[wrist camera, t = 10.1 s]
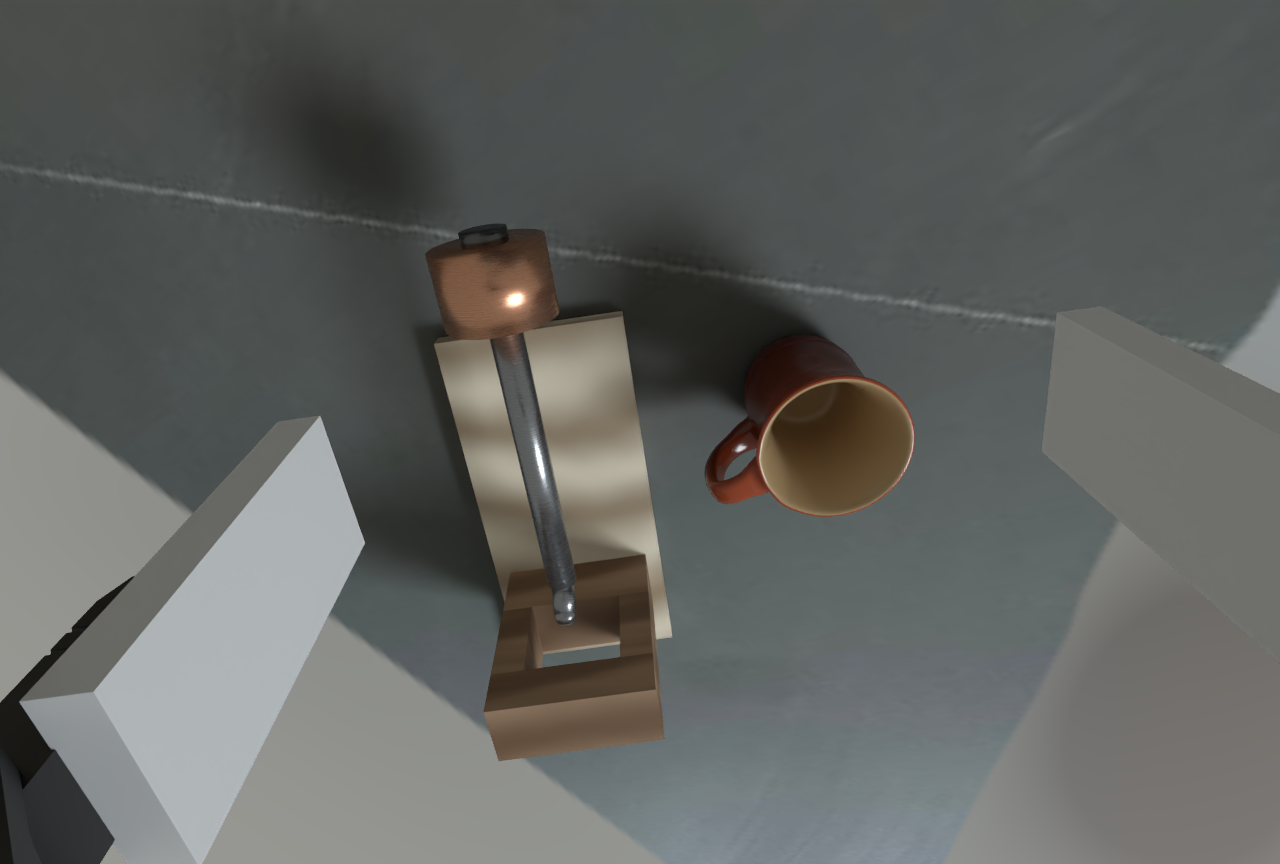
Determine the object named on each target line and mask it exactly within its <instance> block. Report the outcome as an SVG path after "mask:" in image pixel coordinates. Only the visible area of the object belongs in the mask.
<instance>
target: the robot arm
mask: <svg viewBox="0 0 1280 864" xmlns="http://www.w3.org/2000/svg"><path fill="white" fill-rule="evenodd" d="M1042 452H1043V453H1044V454H1045V455H1046V456H1048V457H1049V458H1050V459H1051V460H1052V461H1053V462H1054V463H1055V464H1057V465H1058V466H1059V467H1060V468H1061V469H1062V470H1063V471H1064V472H1066V473H1067V474H1068V475H1069V476H1070V477H1071V478H1072V479H1073V480H1075V481H1076V482H1077V483H1078V484H1079V485H1080V486H1081V487H1082V488H1083V489H1085V490H1086V491H1087V492H1088V493H1089V494H1090V495H1091V496H1092V497H1094V498H1095V499H1096V500H1097V501H1098V502H1099V503H1100V504H1101V505H1103V506H1104V507H1105V508H1106V509H1107V510H1108V511H1109V512H1110V513H1112V514H1113V515H1114V516H1115V517H1116V518H1117V519H1118V520H1119V521H1121V522H1122V523H1123V524H1124V525H1125V526H1126V527H1127V528H1129V529H1130V530H1131V531H1132V532H1133V533H1134V534H1135V535H1136V536H1138V537H1139V538H1140V539H1141V540H1142V541H1143V542H1144V543H1145V544H1146V545H1148V546H1149V547H1150V548H1151V549H1152V550H1153V551H1154V552H1155V553H1156V554H1158V555H1159V556H1160V557H1161V558H1162V559H1163V560H1164V561H1165V562H1167V563H1168V564H1169V565H1170V566H1171V567H1172V568H1174V570H1176V571H1177V572H1178V573H1179V574H1180V575H1181V576H1182V577H1183V578H1185V579H1186V580H1187V581H1188V582H1189V583H1190V584H1191V585H1192V586H1194V587H1195V588H1196V589H1197V590H1198V591H1199V592H1200V593H1202V594H1203V595H1204V596H1205V597H1206V598H1207V599H1208V600H1209V601H1210V602H1212V603H1213V604H1214V605H1215V606H1216V607H1217V608H1218V609H1219V610H1221V611H1222V612H1223V613H1224V614H1225V615H1226V616H1227V617H1228V618H1229V619H1231V620H1232V621H1233V622H1234V623H1235V624H1236V625H1237V626H1239V627H1240V628H1241V629H1242V630H1243V631H1244V632H1245V633H1246V634H1248V635H1249V636H1250V637H1251V638H1252V639H1253V640H1254V641H1255V642H1256V643H1258V644H1259V645H1260V646H1261V647H1262V648H1263V649H1264V650H1266V651H1267V652H1268V653H1269V654H1270V655H1271V656H1272V657H1273V658H1275V659H1276V660H1277V661H1278V662H1279V663H1280V394H1279V393H1277V392H1275V391H1273V390H1271V389H1269V388H1267V387H1265V386H1263V385H1261V384H1259V383H1257V382H1255V381H1253V380H1251V379H1249V378H1247V377H1245V376H1243V375H1241V374H1239V373H1237V372H1234V371H1232V370H1230V369H1228V368H1226V367H1224V366H1222V365H1220V364H1218V363H1216V362H1214V361H1212V360H1210V359H1208V358H1206V357H1204V356H1202V355H1200V354H1198V353H1196V352H1194V351H1192V350H1190V349H1187V348H1185V347H1183V346H1181V345H1179V344H1177V343H1175V342H1173V341H1171V340H1169V339H1167V338H1165V337H1163V336H1161V335H1159V334H1157V333H1155V332H1153V331H1151V330H1149V329H1147V328H1145V327H1142V326H1140V325H1138V324H1136V323H1134V322H1132V321H1130V320H1128V319H1126V318H1124V317H1122V316H1120V315H1118V314H1116V313H1114V312H1112V311H1110V310H1108V309H1106V308H1104V307H1102V306H1100V307H1093V308H1086V309H1079V310H1072V311H1065V312H1058V313H1057V319H1056V328H1055V337H1054V346H1053V355H1052V364H1051V373H1050V382H1049V391H1048V400H1047V409H1046V418H1045V427H1044V436H1043V445H1042ZM364 544H365V542H364V539H363V536H362V533H361V530H360V528H359V525H358V522H357V519H356V516H355V513H354V511H353V508H352V505H351V502H350V499H349V496H348V494H347V491H346V488H345V485H344V482H343V479H342V477H341V474H340V471H339V468H338V465H337V462H336V460H335V457H334V454H333V451H332V448H331V445H330V443H329V440H328V437H327V434H326V431H325V428H324V426H323V423H322V420H321V417H320V416H315V417H308V418H300V419H293V420H286V421H279V422H277V423H276V424H275V425H274V427H273V428H272V429H271V430H270V431H269V432H268V433H267V434H266V435H265V436H264V437H263V438H262V440H261V441H260V442H259V443H258V444H257V445H256V446H255V447H254V448H253V449H252V450H251V451H250V453H249V454H248V455H247V456H246V457H245V458H244V459H243V460H242V461H241V462H240V463H239V464H238V465H237V467H236V468H235V469H234V470H233V471H232V472H231V473H230V474H229V475H228V476H227V477H226V478H225V480H224V481H223V482H222V483H221V484H220V485H219V486H218V487H217V488H216V489H215V490H214V491H213V493H212V494H211V495H210V496H209V497H208V498H207V499H206V500H205V501H204V502H203V503H202V504H201V505H200V507H199V508H198V509H197V510H196V511H195V512H194V513H193V514H192V515H191V516H190V517H189V518H188V520H187V521H186V522H185V523H184V524H183V525H182V526H181V527H180V528H179V529H178V530H177V532H176V533H175V534H174V535H173V536H172V537H171V538H170V539H169V540H168V541H167V542H166V543H165V544H164V546H163V547H162V548H161V549H160V550H159V551H158V552H157V553H156V554H155V555H154V556H153V557H152V559H151V560H150V561H149V562H148V563H147V564H146V565H145V566H144V567H143V568H142V569H141V571H140V572H139V573H138V574H137V575H136V576H133V577H131V578H130V579H128V580H127V581H125V582H124V583H122V584H121V585H120V586H118V587H117V588H115V589H114V590H112V591H111V592H110V593H108V594H107V595H105V596H104V597H102V598H101V599H99V600H98V601H97V602H96V603H95V604H94V605H93V606H92V607H91V608H90V609H89V610H88V611H87V612H86V613H85V614H84V615H83V616H82V617H81V618H80V619H79V620H78V622H77V623H76V624H75V625H74V626H73V627H72V632H71V633H66V634H65V635H64V636H63V637H62V638H61V639H60V640H59V641H58V643H57V644H56V645H55V646H54V647H53V648H52V649H51V654H50V655H46V656H44V657H43V658H42V659H41V660H40V661H39V663H38V664H37V665H36V666H35V667H34V668H33V669H32V670H31V671H30V672H29V673H28V674H27V675H26V676H25V677H24V678H23V679H22V680H21V681H20V683H18V685H17V686H16V687H15V688H14V689H13V690H12V691H11V692H10V693H9V694H8V695H7V696H6V697H5V698H4V699H3V700H2V701H1V703H0V864H100V862H101V861H102V859H103V858H104V856H105V855H106V853H107V851H108V850H109V848H110V847H111V845H112V844H113V843H114V845H115V846H116V848H117V849H118V851H119V852H120V854H121V855H122V857H123V858H124V860H125V861H126V862H127V864H202V863H203V861H204V859H205V857H206V855H207V853H208V851H209V849H210V847H211V845H212V844H213V841H214V840H215V838H216V836H217V833H218V832H219V830H220V828H221V826H222V824H223V822H224V820H225V818H226V816H227V814H228V812H229V810H230V808H231V806H232V804H233V802H234V800H235V798H236V796H237V794H238V792H239V790H240V788H241V786H242V784H243V782H244V780H245V778H246V776H247V775H248V773H249V771H250V769H251V767H252V764H253V763H254V761H255V759H256V756H257V755H258V753H259V751H260V749H261V747H262V745H263V743H264V741H265V739H266V737H267V735H268V733H269V731H270V729H271V727H272V725H273V723H274V721H275V719H276V717H277V716H278V714H279V712H280V710H281V708H282V706H283V704H284V702H285V700H286V698H287V696H288V694H289V692H290V690H291V688H292V686H293V684H294V682H295V680H296V678H297V676H298V674H299V672H300V670H301V668H302V666H303V664H304V662H305V660H306V658H307V656H308V654H309V653H310V650H311V649H312V647H313V645H314V643H315V641H316V639H317V637H318V635H319V633H320V631H321V629H322V627H323V625H324V623H325V621H326V619H327V617H328V615H329V613H330V611H331V609H332V607H333V605H334V603H335V601H336V599H337V597H338V595H339V593H340V591H341V589H342V588H343V586H344V584H345V582H346V580H347V578H348V576H349V574H350V572H351V570H352V568H353V566H354V564H355V562H356V560H357V558H358V556H359V554H360V552H361V550H362V548H363V546H364Z"/></svg>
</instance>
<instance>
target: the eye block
mask: <svg viewBox="0 0 1280 864" xmlns="http://www.w3.org/2000/svg"><path fill="white" fill-rule="evenodd" d="M574 568H575V573H576V577H577V579H576V582H575V583H574V588H575V598H576V609H577V617H576V620H575V621H574V623H573V624H571V625H569V626H562V625H559V624H558V623H557V622H556V620H555V618H554V609H553V597H552V588H550V587H549V585H548V582H547V578H546V573H545V569H544V568H542V569H535V570H528V571H521V572H513V573H510V577H509V582H508V588H507V593H506V598H505V603H504V609H503V614H502V619H501V624H500V629H499V635H498V640H497V645H496V650H495V655H494V661H493V666H492V671H491V676H490V682H489V687H488V692H487V697H486V702H485V708H484V715H485V719H486V722H487V725H488V728H489V731H490V734H491V738H492V741H493V744H494V747H495V750H496V753H497V757H498V760H499V761H503V760H511V759H518V758H526V757H533V756H541V755H549V754H556V753H564V752H571V751H579V750H587V749H594V748H602V747H610V746H617V745H625V744H632V743H640V742H648V741H655V740H663V739H664V728H663V716H662V704H661V692H660V680H659V668H658V656H657V644H656V632H655V620H654V609H653V597H652V591H651V585H650V579H649V573H648V567H647V561H646V555H645V554H644V555H637V556H629V557H622V558H615V559H608V560H600V561H593V562H586V563H579V564H574ZM619 641H620V657H618V658H611V659H604V660H596V661H589V662H581V663H574V664H566V665H559V666H551V667H544V668H542V659H543V652H545V651H553V650H560V649H568V648H575V647H582V646H590V645H597V644H605V643H612V642H619Z"/></svg>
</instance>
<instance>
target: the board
mask: <svg viewBox="0 0 1280 864" xmlns="http://www.w3.org/2000/svg"><path fill="white" fill-rule="evenodd" d="M523 333H524V338H525V342H526V347H527V351H528V356H529V361H530V365H531V370H532V375H533V379H534V384H535V388H536V393H537V398H538V402H539V407H540V411H541V416H542V421H543V425H544V430H545V434H546V439H547V444H548V448H549V453H550V458H551V462H552V467H553V471H554V476H555V481H556V485H557V490H558V494H559V499H560V504H561V508H562V513H563V517H564V522H565V527H566V531H567V536H568V541H569V545H570V550H571V554H572V559H573V564H579V563H586V562H593V561H600V560H608V559H615V558H622V557H629V556H637V555H644V554H645V555H646V561H647V567H648V573H649V579H650V585H651V591H652V597H653V609H654V620H655V632H656V639H661V638H668V637H672V631H671V624H670V617H669V611H668V604H667V598H666V591H665V585H664V578H663V572H662V565H661V559H660V553H659V546H658V540H657V533H656V527H655V520H654V514H653V507H652V501H651V494H650V488H649V481H648V475H647V469H646V462H645V456H644V449H643V443H642V436H641V430H640V423H639V417H638V410H637V404H636V397H635V391H634V385H633V378H632V372H631V365H630V359H629V352H628V346H627V339H626V333H625V326H624V320H623V313H622V311H618V312H611V313H604V314H597V315H590V316H584V317H577V318H570V319H563V320H556V321H550V322H548V323H546V324H544V325H542V326H540V327H537V328H534V329H532V330H529V331H526V332H523ZM434 346H435V350H436V354H437V357H438V361H439V365H440V368H441V372H442V376H443V379H444V383H445V387H446V390H447V394H448V398H449V401H450V405H451V409H452V412H453V416H454V420H455V423H456V427H457V431H458V434H459V438H460V442H461V445H462V449H463V453H464V456H465V460H466V464H467V467H468V471H469V475H470V478H471V482H472V486H473V489H474V493H475V497H476V500H477V504H478V507H479V511H480V515H481V518H482V522H483V526H484V529H485V533H486V537H487V540H488V544H489V548H490V551H491V555H492V559H493V562H494V566H495V570H496V573H497V577H498V581H499V584H500V588H501V592H502V595H503V599H504V603H505V598H506V593H507V588H508V582H509V577H510V573H513V572H521V571H528V570H535V569H542V568H544V565H543V561H542V557H541V553H540V548H539V544H538V540H537V536H536V532H535V527H534V523H533V519H532V515H531V511H530V506H529V502H528V498H527V494H526V490H525V485H524V481H523V477H522V473H521V469H520V464H519V460H518V456H517V452H516V448H515V443H514V439H513V435H512V431H511V427H510V422H509V418H508V414H507V410H506V406H505V402H504V397H503V393H502V389H501V385H500V381H499V376H498V372H497V368H496V364H495V360H494V355H493V351H492V347H491V343H490V339H485V340H460V339H455V338H452V337H449V336H447V337H440V338H437V340H436V341H435V343H434ZM617 644H620V641H619V642H612V643H605V644H597V645H590V646H582V647H575V648H568V649H560V650H553V651H545V652H543V654H550V653H557V652H565V651H572V650H579V649H587V648H594V647H602V646H609V645H617Z"/></svg>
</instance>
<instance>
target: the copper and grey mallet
mask: <svg viewBox="0 0 1280 864" xmlns="http://www.w3.org/2000/svg"><path fill="white" fill-rule="evenodd" d="M458 235H459V239H456V240H453V241H450V242H447V243H444V244H441V245H439V246H436V247H434V248H432V249H430V250H429V251H428V252H427V253H426V254H425V256H426V260H427V264H428V268H429V271H430V275H431V279H432V283H433V287H434V290H435V294H436V298H437V302H438V305H439V309H440V313H441V317H442V321H443V324H444V328H445V332H446V334H447V335H448V336H449V337H452V338H455V339H460V340H485V339H490V343H491V347H492V351H493V355H494V360H495V364H496V368H497V372H498V376H499V381H500V385H501V389H502V393H503V397H504V402H505V406H506V410H507V414H508V418H509V422H510V427H511V431H512V435H513V439H514V443H515V448H516V452H517V456H518V460H519V464H520V469H521V473H522V477H523V481H524V485H525V490H526V494H527V498H528V502H529V506H530V511H531V515H532V519H533V523H534V527H535V532H536V536H537V540H538V544H539V548H540V553H541V557H542V561H543V565H544V569H545V573H546V578H547V582H548V585H549V587H550V588H552V597H553V609H554V618H555V620H556V622H557V623H558V624H559V625H562V626H569V625H571V624H573V623H574V621H575V620H576V617H577V609H576V598H575V588H574V583H575V582H576V579H577V577H576V573H575V568H574V564H573V559H572V554H571V550H570V545H569V541H568V536H567V531H566V527H565V522H564V517H563V513H562V508H561V504H560V499H559V494H558V490H557V485H556V481H555V476H554V471H553V467H552V462H551V458H550V453H549V448H548V444H547V439H546V434H545V430H544V425H543V421H542V416H541V411H540V407H539V402H538V398H537V393H536V388H535V384H534V379H533V375H532V370H531V365H530V361H529V356H528V351H527V347H526V342H525V338H524V333H523V332H526V331H529V330H532V329H534V328H537V327H540V326H542V325H544V324H546V323H548V322H550V321H551V320H553V319H554V318H555V317H556V316H557V315H558V314H559V305H558V299H557V294H556V289H555V284H554V279H553V273H552V268H551V263H550V258H549V253H548V247H547V242H546V237H545V233H544V232H543V231H541V230H537V229H511V230H507V226H506V224H488V225H482V226H477V227H472V228H469V229H466V230H463V231H461V232H459V233H458Z"/></svg>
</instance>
